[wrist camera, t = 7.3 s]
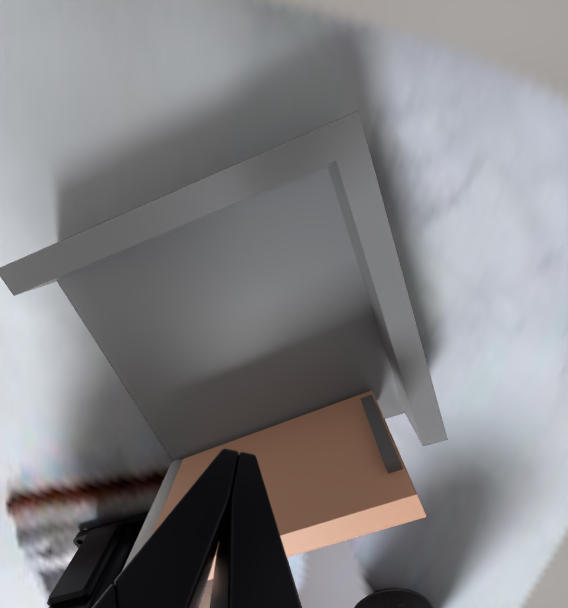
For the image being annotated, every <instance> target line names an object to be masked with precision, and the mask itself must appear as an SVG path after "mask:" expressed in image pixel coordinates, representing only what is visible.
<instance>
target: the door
mask: <svg viewBox="0 0 568 608" xmlns="http://www.w3.org/2000/svg"><path fill="white" fill-rule="evenodd" d="M224 448H226V449H231V450H235V451H238V453H240V452H245V453H250V454H254V455H255V456H256V458H257V461H258V464H259V468H260V471H261V474H262V477H263V481H264V484H265V487H266V491H267V494H268V497H269V500H270V504H271V507H272V510H273V514H274V517H275V520H276V523H277V527H278V530H279V533H280V537H281V540H282V543H283V546H284V550H285V553H286V556H287V557H290V556H293V555H297V554H300V553H304V552H307V551H310V550H314V549H318V548H321V547H324V546H328V545H331V544H335V543H338V542H342V541H345V540H349V539H352V538H356V537H359V536H363V535H366V534H369V533H373V532H376V531H380V530H383V529H387V528H390V527H394V526H397V525H401V524H404V523H407V522H411V521H414V520H418V519H421V518H425V517H427V516H426V514H425V512H424V509H423V507H422V505H421V502H420V500H419V498H418V495H417V493H416V491H415V488H414V486H413V484H412V481H411V479H410V477H409V475H408V472H407V470H406V468H405V465H404V463H403V461H402V458H401V456H400V454H399V451H398V449H397V447H396V445H395V442H394V440H393V438H392V435H391V433H390V431H389V428H388V426H387V424H386V422H385V419H384V417H383V415H382V412H381V410H380V408H379V405H378V403H377V401H376V398H375V396H374V394H373V392H372V390H371V391H368V392H366V393H363V394H360V395H357V396H355V397H352V398H349V399H346V400H344V401H341V402H338V403H335V404H333V405H330V406H327V407H324V408H322V409H319V410H316V411H313V412H311V413H308V414H305V415H302V416H300V417H297V418H294V419H291V420H289V421H286V422H283V423H280V424H278V425H275V426H272V427H270V428H267V429H264V430H261V431H259V432H256V433H253V434H250V435H248V436H245V437H242V438H239V439H237V440H234V441H231V442H228V443H226V444H223V445H220V446H217V447H215V448H212V449H209V450H206V451H204V452H201V453H198V454H195V455H193V456H190V457H187V458H184V459H183V460H175V461H173V462H172V463H171V465H170V467H169V469H168V471H167V474H166V476H165V478H164V480H163V482H162V485H161V487H160V489H159V491H158V493H157V496H156V498H155V500H154V502H153V504H152V507H151V509H150V511H149V513H148V515H147V518H146V520H145V522H144V524H143V526H142V529H141V531H140V533H139V535H138V537H137V540H136V542H135V544H134V546H133V548H132V551H131V553H130V555H129V557H128V559H127V562H126V564H125V566H124V568H125V567H126V566H127V565H128V563H129V562H130V561H131V560H132V559H133V557H134V556H135V555H136V554H137V553H138V551H139V550H140V549H141V548H142V546H143V545H144V544H145V543H146V542H147V540H148V539H149V538H150V537H151V535H152V534H153V533H154V532H155V531H156V529H157V528H158V527H159V526H160V524H161V523H162V522H163V521H164V520H165V518H166V517H167V516H168V515H169V513H170V512H171V511H172V510H173V509H174V507H175V506H176V505H177V504H178V502H179V501H180V500H181V499H182V498H183V496H184V495H185V494H186V493H187V491H188V490H189V489H190V488H191V487H192V485H193V484H194V483H195V482H196V480H197V479H198V478H199V477H200V476H201V474H202V473H203V472H204V471H205V469H206V468H207V467H208V466H209V465H210V463H211V462H212V461H213V460H214V458H215V457H216V456H217V455H218V454H219V452H220V451H221V450H222V449H224ZM218 544H219V543H218ZM217 549H218V547H217ZM216 554H217V551H216ZM215 561H216V555H215V558H214V561H213V565H212V568H211V571H210V574H209V577H208V580H211V579H213V577H214V568H215ZM124 568H123V570H124ZM123 570H122V571H123Z"/></svg>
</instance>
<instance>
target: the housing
mask: <svg viewBox="0 0 568 608" xmlns="http://www.w3.org/2000/svg"><path fill="white" fill-rule="evenodd" d="M0 277H1V278H2V280H3V281H4V282H5V284H6V285H7V287H8V288H9V290H10V291H11V292H12V294H13V295H14V296H15V295H17V294H20V293H23V292H26V291H29V290H32V289H35V288H38V287H41V286H44V285H47V284H50V283H53V282H56V281H57V282H58V283H59V285H60V287H61V288H62V290H63V291H64V293H65V294H66V296H67V298H68V299H69V301H70V302H71V304H72V305H73V307H74V308H75V310H76V312H77V313H78V315H79V316H80V318H81V319H82V321H83V322H84V324H85V326H86V327H87V329H88V330H89V332H90V333H91V335H92V336H93V338H94V340H95V341H96V343H97V344H98V346H99V347H100V349H101V350H102V352H103V354H104V355H105V357H106V358H107V360H108V361H109V363H110V364H111V366H112V368H113V369H114V371H115V372H116V374H117V375H118V377H119V378H120V380H121V382H122V383H123V385H124V386H125V388H126V389H127V391H128V393H129V394H130V396H131V397H132V399H133V400H134V402H135V403H136V405H137V407H138V408H139V410H140V411H141V413H142V414H143V416H144V417H145V419H146V421H147V422H148V424H149V425H150V427H151V428H152V430H153V431H154V433H155V435H156V436H157V438H158V439H159V441H160V442H161V444H162V445H163V447H164V449H165V450H166V452H167V453H168V455H169V456H170V458H171V459H172V461H175V460H183V459H184V458H187V457H190V456H193V455H195V454H198V453H201V452H204V451H206V450H209V449H212V448H215V447H217V446H220V445H223V444H226V443H228V442H231V441H234V440H237V439H239V438H242V437H245V436H248V435H250V434H253V433H256V432H259V431H261V430H264V429H267V428H270V427H272V426H275V425H278V424H280V423H283V422H286V421H289V420H291V419H294V418H297V417H300V416H302V415H305V414H308V413H311V412H313V411H316V410H319V409H322V408H324V407H327V406H330V405H333V404H335V403H338V402H341V401H344V400H346V399H349V398H352V397H355V396H357V395H360V394H363V393H366V392H368V391H371V390H372V392H373V394H374V396H375V398H376V401H377V403H378V405H379V408H380V410H381V412H382V415H383V417H384V419H386V418H389V417H392V416H396V415H399V414H403V413H405V414H406V416H407V418H408V419H409V421H410V423H411V425H412V427H413V429H414V430H415V432H416V434H417V436H418V438H419V440H420V441H421V443H422V445H423V446H426V445H430V444H433V443H437V442H441V441H444V440H448V439H447V436H446V432H445V428H444V425H443V421H442V417H441V414H440V410H439V406H438V402H437V399H436V395H435V391H434V388H433V384H432V380H431V377H430V373H429V369H428V366H427V362H426V358H425V354H424V351H423V347H422V343H421V340H420V336H419V332H418V329H417V325H416V321H415V317H414V314H413V310H412V306H411V303H410V299H409V295H408V292H407V288H406V284H405V281H404V277H403V273H402V269H401V266H400V262H399V258H398V255H397V251H396V247H395V244H394V240H393V236H392V233H391V229H390V225H389V221H388V218H387V214H386V210H385V207H384V203H383V199H382V196H381V192H380V188H379V184H378V181H377V177H376V173H375V170H374V166H373V162H372V159H371V155H370V151H369V148H368V144H367V140H366V136H365V133H364V129H363V125H362V122H361V118H360V114H359V111H357V112H354V113H352V114H350V115H347V116H345V117H343V118H341V119H338V120H336V121H334V122H331V123H329V124H327V125H325V126H322V127H320V128H318V129H316V130H313V131H311V132H309V133H306V134H304V135H302V136H300V137H297V138H295V139H293V140H290V141H288V142H286V143H284V144H281V145H279V146H277V147H274V148H272V149H270V150H268V151H265V152H263V153H261V154H258V155H256V156H254V157H252V158H249V159H247V160H245V161H243V162H240V163H238V164H236V165H233V166H231V167H229V168H227V169H224V170H222V171H220V172H217V173H215V174H213V175H211V176H208V177H206V178H204V179H201V180H199V181H197V182H195V183H192V184H190V185H188V186H185V187H183V188H181V189H179V190H176V191H174V192H172V193H170V194H167V195H165V196H163V197H160V198H158V199H156V200H154V201H151V202H149V203H147V204H144V205H142V206H140V207H138V208H135V209H133V210H131V211H128V212H126V213H124V214H122V215H119V216H117V217H115V218H112V219H110V220H108V221H106V222H103V223H101V224H99V225H97V226H94V227H92V228H90V229H87V230H85V231H83V232H81V233H78V234H76V235H74V236H71V237H69V238H67V239H65V240H62V241H60V242H58V243H55V244H53V245H51V246H49V247H46V248H44V249H42V250H39V251H37V252H35V253H33V254H30V255H28V256H26V257H24V258H21V259H19V260H17V261H14V262H12V263H10V264H8V265H5V266H3V267H1V268H0Z"/></svg>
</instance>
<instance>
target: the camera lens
mask: <svg viewBox="0 0 568 608" xmlns="http://www.w3.org/2000/svg"><path fill="white" fill-rule="evenodd" d="M354 608H432V606H431V604H430V603H429V601H428V600H427V599H426V598H424V597H423V596H421V595H420V594H417V593H415V592H412V591H408V590H402V589H390V590H383V591H378V592H376V593H373V594H370V595H368V596H367V597H365V598H364V599H362V600H361V601H360V602H359V603H357V605H356V606H355V607H354Z"/></svg>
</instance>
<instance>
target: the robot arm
mask: <svg viewBox="0 0 568 608" xmlns="http://www.w3.org/2000/svg"><path fill="white" fill-rule="evenodd" d="M147 515H148V513H145V514H142V515H138V516H135V517H131V518H128V519H124V520H120V521H117V522H113V523H110V524H106V525H103V526H99V527H96V528H92V529H88V530H85V531H81V532H79V533H78V534H77V535H76V537H75V539H74V544H75V545H76V546H77V547H78V548H79V549H78V550H77V552H76V554H75V555H74V557H73V559H72V560H71V562H70V564H69V565H68V567H67V568H66V570H65V572H64V573H63V575H62V577H61V578H60V580H59V582H58V583H57V585H56V587H55V588H54V590H53V591H52V593H51V595H50V596H49V599H48V602H47V604H48V605H49V606H50V607H49V608H199V605H200V602H201V599H202V596H203V593H204V590H205V587H206V584H207V581H208V577H209V574H210V571H211V568H212V565H213V561H214V558H215V555H216V561H215V568H214V577H213V585H212V594H211V602H210V608H302V606H301V602H300V599H299V596H298V592H297V589H296V586H295V583H294V579H293V576H292V573H291V569H290V566H289V563H288V560H287V556H286V553H285V550H284V546H283V543H282V540H281V537H280V533H279V530H278V527H277V523H276V520H275V517H274V514H273V510H272V507H271V504H270V500H269V497H268V494H267V491H266V487H265V484H264V481H263V477H262V474H261V471H260V468H259V464H258V461H257V458H256V456H255V455H254V454H250V453H245V452H240V453H238V451H235V450H231V449H226V448H224V449H222V450H221V451H220V452H219V454H218V455H217V456H216V457H215V458H214V460H213V461H212V462H211V463H210V465H209V466H208V467H207V468H206V469H205V471H204V472H203V473H202V474H201V476H200V477H199V478H198V479H197V480H196V482H195V483H194V484H193V485H192V487H191V488H190V489H189V490H188V491H187V493H186V494H185V495H184V496H183V498H182V499H181V500H180V501H179V502H178V504H177V505H176V506H175V507H174V509H173V510H172V511H171V512H170V513H169V515H168V516H167V517H166V518H165V520H164V521H163V522H162V523H161V524H160V526H159V527H158V528H157V529H156V531H155V532H154V533H153V534H152V535H151V537H150V538H149V539H148V540H147V542H146V543H145V544H144V545H143V546H142V548H141V549H140V550H139V551H138V553H137V554H136V555H135V556H134V557H133V559H132V560H131V561H130V562H129V563H128V565H127V566H126V567H125V568H124V566H125V564H126V562H127V559H128V557H129V555H130V553H131V551H132V548H133V546H134V544H135V542H136V540H137V537H138V535H139V533H140V531H141V529H142V526H143V524H144V522H145V520H146V518H147ZM218 543H219V544H218ZM217 547H218V549H217ZM216 551H217V554H216ZM123 568H124V570H123ZM122 570H123V571H122Z"/></svg>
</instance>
